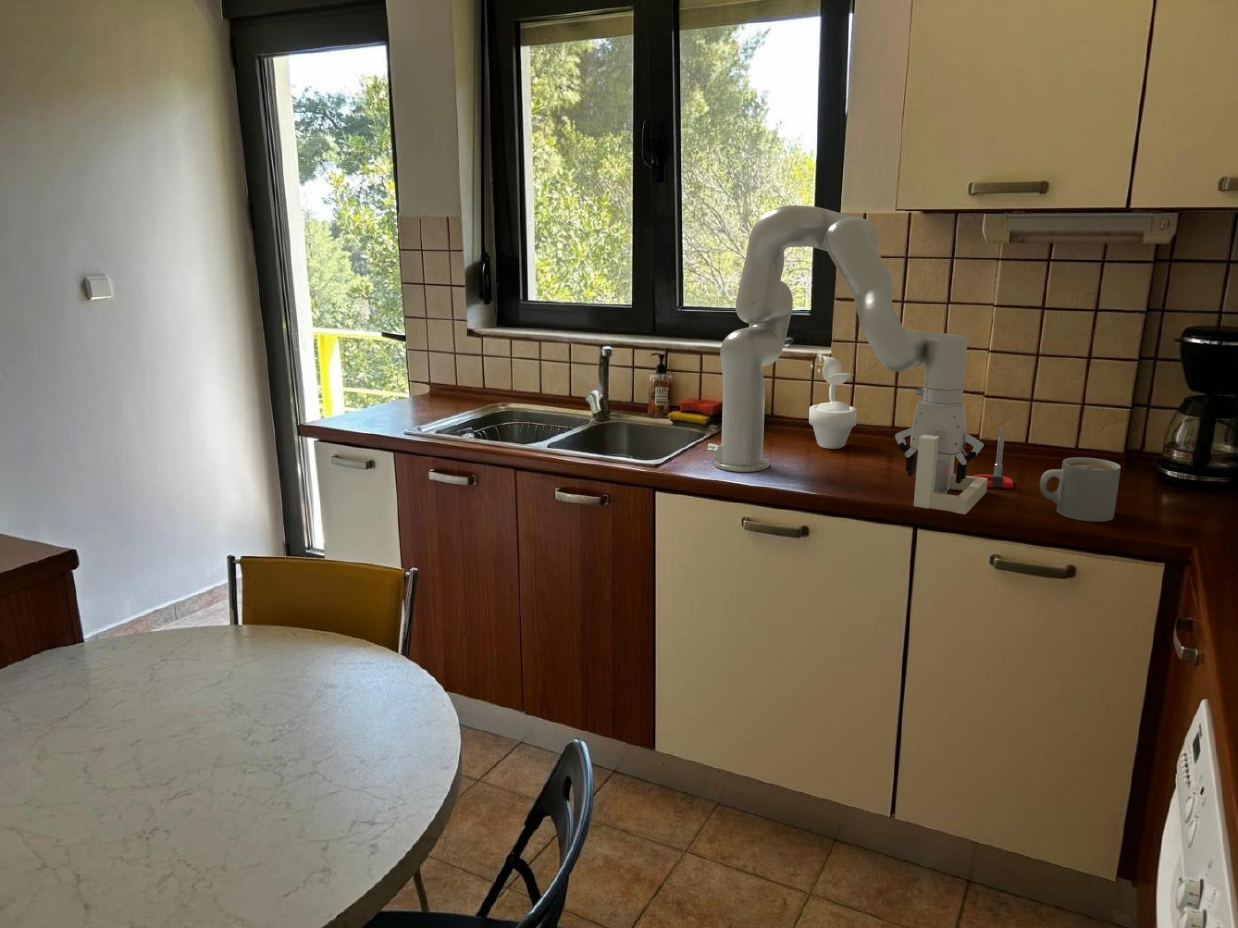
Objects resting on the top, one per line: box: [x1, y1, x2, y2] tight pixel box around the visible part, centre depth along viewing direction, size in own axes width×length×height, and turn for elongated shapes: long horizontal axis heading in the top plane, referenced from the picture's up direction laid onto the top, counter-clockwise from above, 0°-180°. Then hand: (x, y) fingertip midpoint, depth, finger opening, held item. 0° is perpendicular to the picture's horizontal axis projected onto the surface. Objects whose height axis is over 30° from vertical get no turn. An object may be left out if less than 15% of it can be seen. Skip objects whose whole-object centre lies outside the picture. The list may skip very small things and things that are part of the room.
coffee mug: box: [1039, 456, 1122, 523], centre depth 177 cm, size 13×10×10 cm
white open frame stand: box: [913, 435, 989, 515], centre depth 185 cm, size 10×18×14 cm, turn 147°
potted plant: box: [808, 348, 858, 450], centre depth 227 cm, size 13×12×25 cm
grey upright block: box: [934, 460, 950, 494], centre depth 188 cm, size 4×7×7 cm, turn 147°
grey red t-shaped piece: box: [971, 428, 1015, 490], centre depth 197 cm, size 8×13×9 cm
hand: (934, 478), depth 188 cm, fingers open, 9 cm apart
